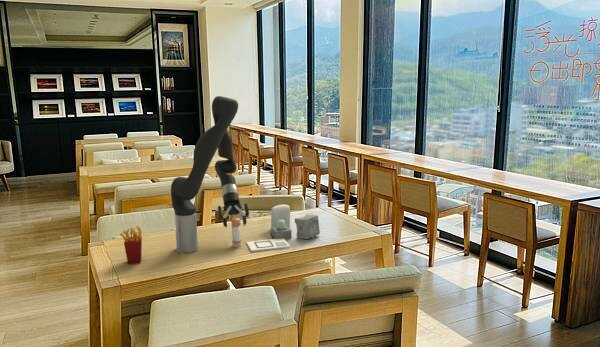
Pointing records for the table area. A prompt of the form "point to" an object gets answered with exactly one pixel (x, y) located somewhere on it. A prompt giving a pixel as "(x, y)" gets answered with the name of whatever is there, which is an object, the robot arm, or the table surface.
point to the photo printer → (280, 215)
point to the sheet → (268, 244)
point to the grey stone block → (307, 226)
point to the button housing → (281, 232)
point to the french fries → (133, 245)
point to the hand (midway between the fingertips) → (235, 225)
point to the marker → (236, 232)
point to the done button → (281, 224)
